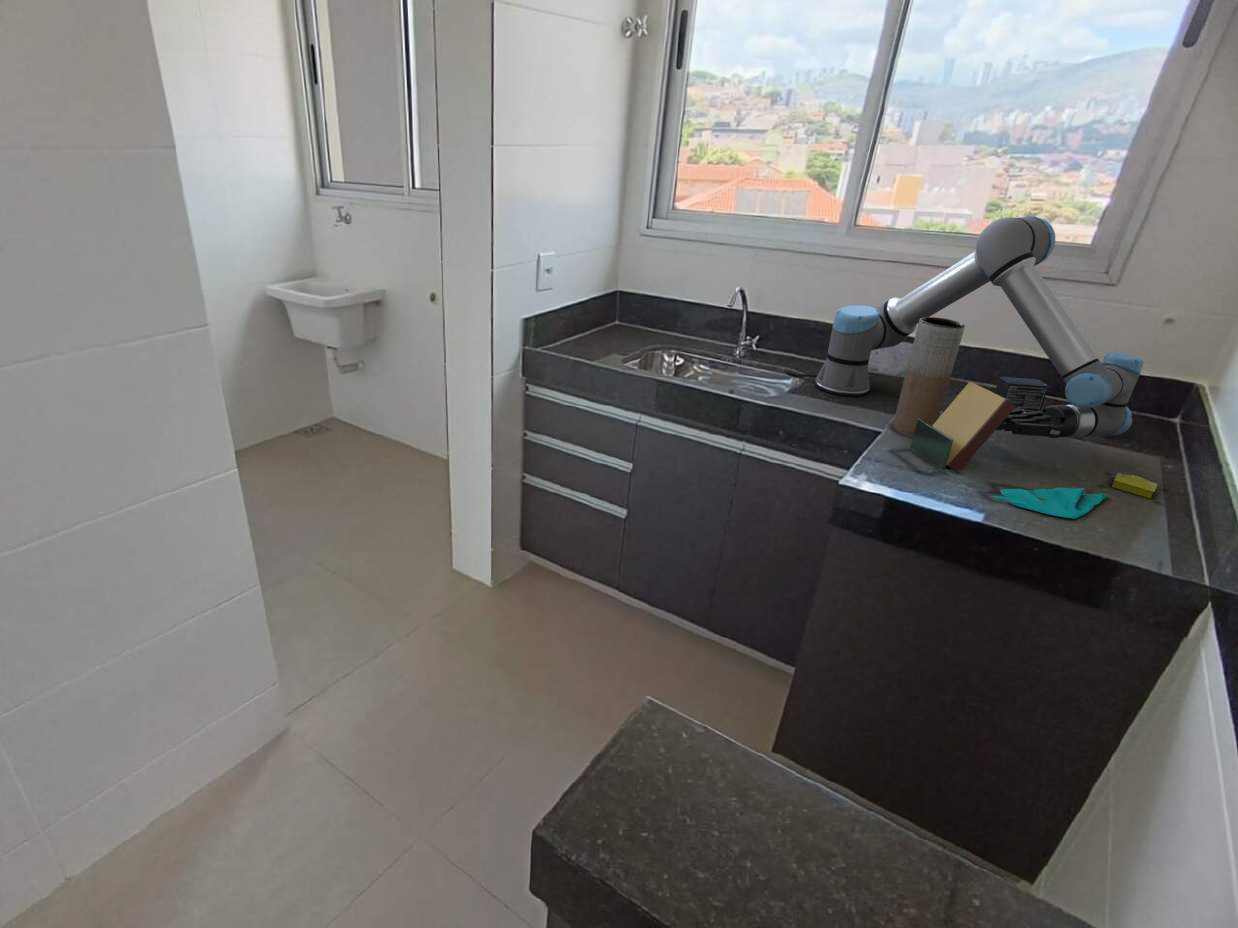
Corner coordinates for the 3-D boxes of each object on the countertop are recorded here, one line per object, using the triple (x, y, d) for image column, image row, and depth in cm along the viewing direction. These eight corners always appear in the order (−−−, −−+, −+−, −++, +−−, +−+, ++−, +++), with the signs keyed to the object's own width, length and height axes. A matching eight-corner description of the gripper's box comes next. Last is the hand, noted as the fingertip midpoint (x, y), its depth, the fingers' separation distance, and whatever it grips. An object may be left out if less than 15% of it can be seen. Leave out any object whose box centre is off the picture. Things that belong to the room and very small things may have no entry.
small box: (1026, 414, 182) (1039, 378, 177) (1037, 423, 176) (1051, 386, 171) (987, 411, 182) (998, 375, 178) (997, 420, 177) (1009, 382, 172)
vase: (907, 439, 161) (937, 327, 149) (884, 423, 169) (911, 316, 157) (942, 438, 163) (974, 327, 151) (918, 422, 171) (947, 316, 159)
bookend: (921, 474, 143) (931, 440, 140) (891, 450, 154) (899, 419, 150) (943, 473, 144) (953, 439, 141) (911, 450, 155) (920, 418, 151)
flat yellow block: (1102, 486, 142) (1107, 474, 141) (1109, 474, 149) (1114, 462, 147) (1158, 503, 136) (1164, 491, 135) (1163, 489, 143) (1169, 478, 141)
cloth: (998, 513, 129) (1002, 503, 128) (972, 481, 141) (975, 471, 140) (1137, 526, 127) (1142, 516, 126) (1098, 493, 139) (1102, 483, 138)
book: (948, 466, 144) (1007, 399, 139) (916, 443, 154) (969, 381, 149) (957, 472, 145) (1016, 406, 140) (924, 449, 156) (977, 387, 151)
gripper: (1082, 447, 148) (991, 451, 143) (1038, 425, 160) (953, 428, 155) (1094, 416, 145) (1002, 419, 140) (1048, 396, 156) (962, 398, 152)
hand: (976, 423), depth 148 cm, fingers closed
